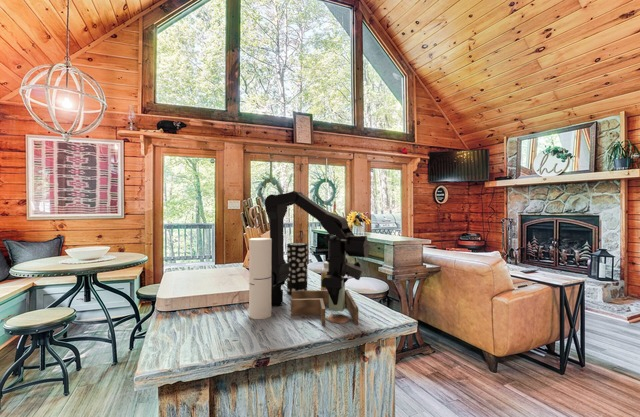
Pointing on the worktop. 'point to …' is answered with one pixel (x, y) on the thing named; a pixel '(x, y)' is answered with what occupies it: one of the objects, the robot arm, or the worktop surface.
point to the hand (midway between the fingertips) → (336, 302)
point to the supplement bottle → (324, 274)
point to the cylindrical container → (260, 278)
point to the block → (341, 301)
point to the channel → (321, 305)
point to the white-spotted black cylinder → (297, 267)
